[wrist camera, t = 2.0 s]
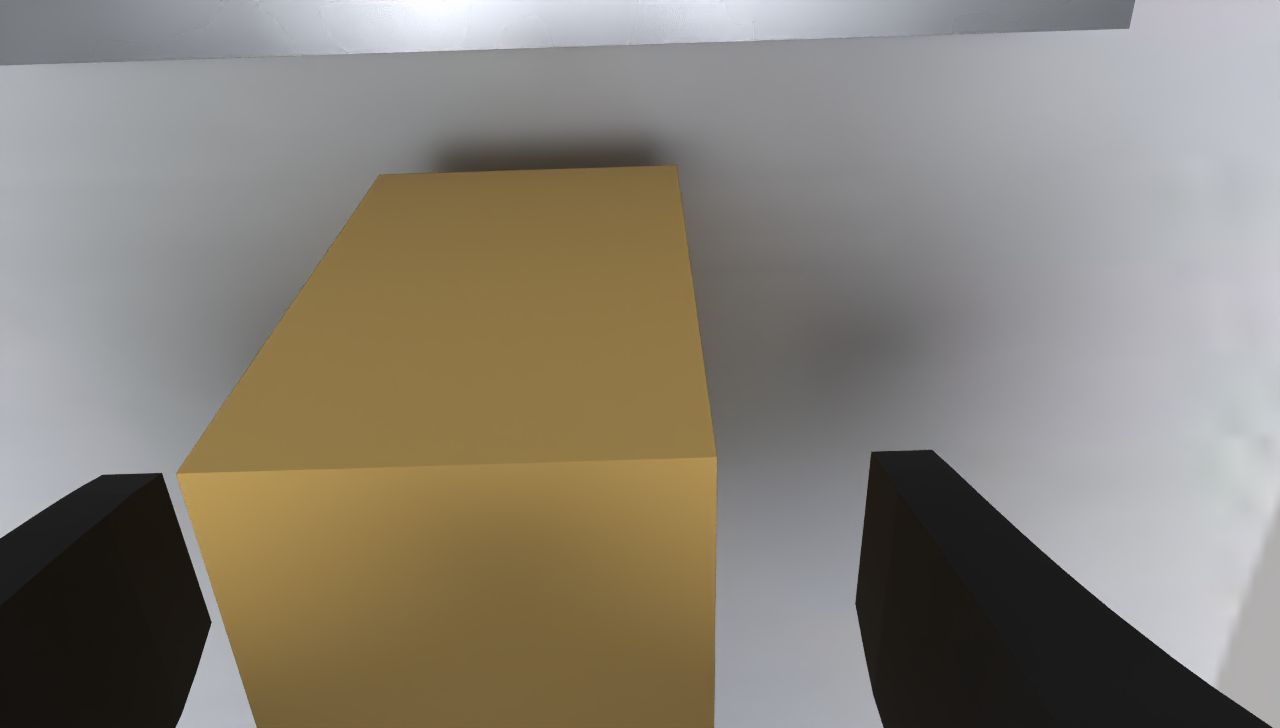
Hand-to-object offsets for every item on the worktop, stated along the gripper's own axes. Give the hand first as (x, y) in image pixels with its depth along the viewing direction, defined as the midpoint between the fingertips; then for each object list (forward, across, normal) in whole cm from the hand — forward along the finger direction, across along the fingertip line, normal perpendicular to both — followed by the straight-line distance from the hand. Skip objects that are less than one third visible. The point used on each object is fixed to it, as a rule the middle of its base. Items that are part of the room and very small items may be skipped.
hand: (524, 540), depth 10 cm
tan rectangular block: (+5, 0, 0) cm, 5 cm away
